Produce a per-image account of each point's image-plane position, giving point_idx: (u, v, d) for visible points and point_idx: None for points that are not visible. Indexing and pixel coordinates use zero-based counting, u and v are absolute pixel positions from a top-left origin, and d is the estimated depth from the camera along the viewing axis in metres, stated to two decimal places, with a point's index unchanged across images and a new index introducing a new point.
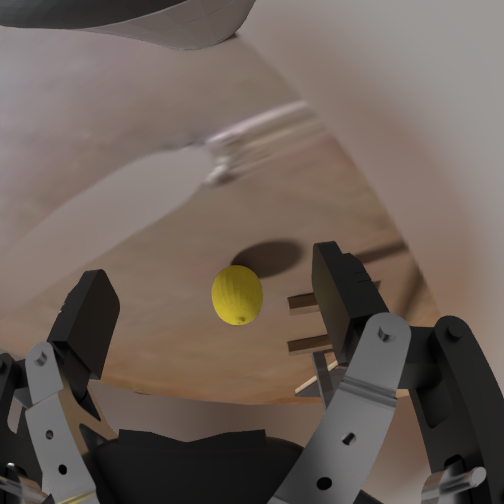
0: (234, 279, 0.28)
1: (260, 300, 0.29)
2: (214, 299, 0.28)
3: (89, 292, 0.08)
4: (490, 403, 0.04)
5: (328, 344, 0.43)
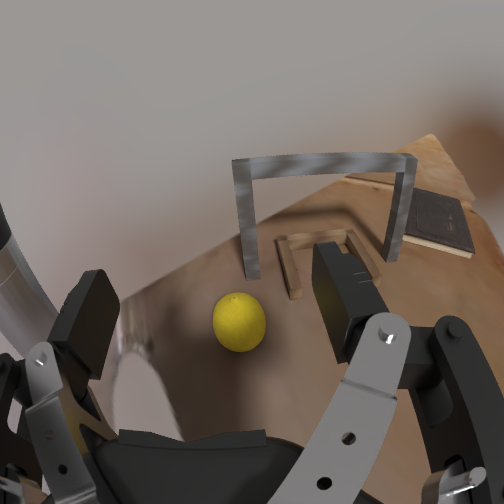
0: None
1: None
2: (227, 334, 0.26)
3: (89, 292, 0.08)
4: (490, 403, 0.04)
5: (356, 248, 0.40)
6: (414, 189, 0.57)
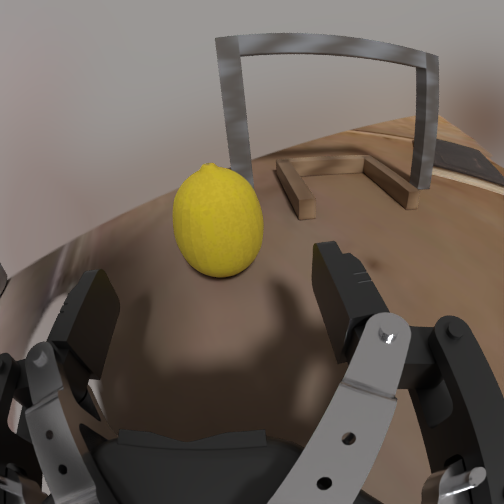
0: None
1: None
2: (193, 226, 0.14)
3: (89, 292, 0.08)
4: (490, 403, 0.04)
5: (379, 169, 0.29)
6: None
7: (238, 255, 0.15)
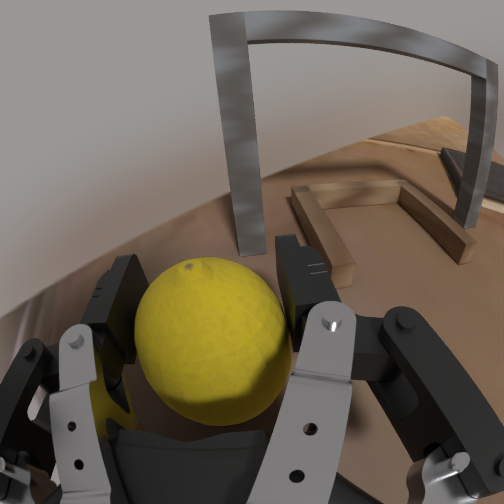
0: None
1: None
2: (169, 388, 0.07)
3: (125, 275, 0.09)
4: (457, 388, 0.04)
5: (422, 204, 0.22)
6: (457, 151, 0.39)
7: (251, 415, 0.08)
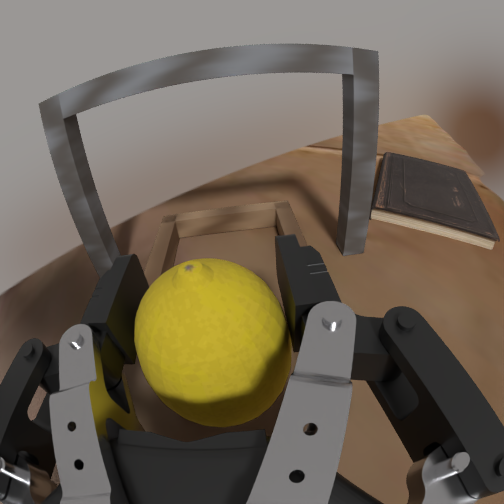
0: None
1: None
2: (169, 390, 0.07)
3: (125, 275, 0.09)
4: (458, 388, 0.04)
5: None
6: (401, 156, 0.40)
7: (251, 416, 0.08)
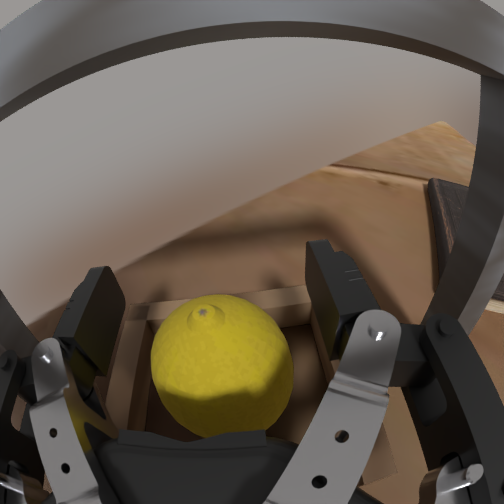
0: None
1: None
2: (186, 415, 0.08)
3: (95, 288, 0.08)
4: (484, 399, 0.04)
5: None
6: (451, 184, 0.29)
7: None
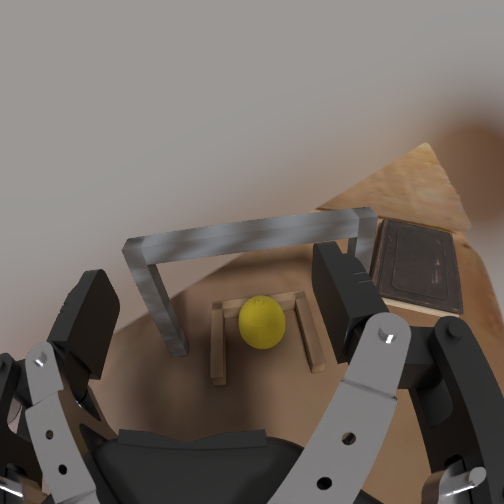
0: (238, 323, 0.32)
1: None
2: (253, 332, 0.29)
3: (89, 292, 0.08)
4: (490, 403, 0.04)
5: (301, 321, 0.34)
6: (397, 224, 0.51)
7: (274, 342, 0.30)
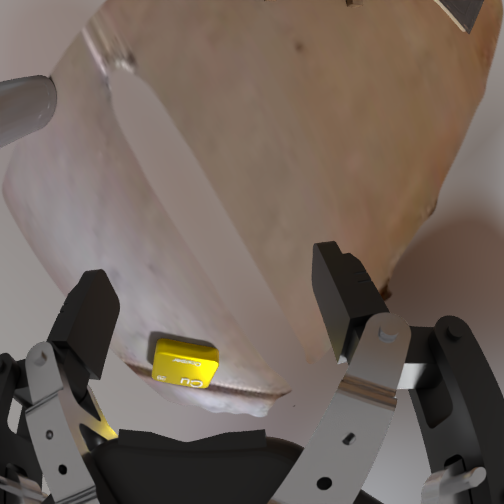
0: None
1: None
2: None
3: (89, 292, 0.08)
4: (490, 403, 0.04)
5: None
6: None
7: None
